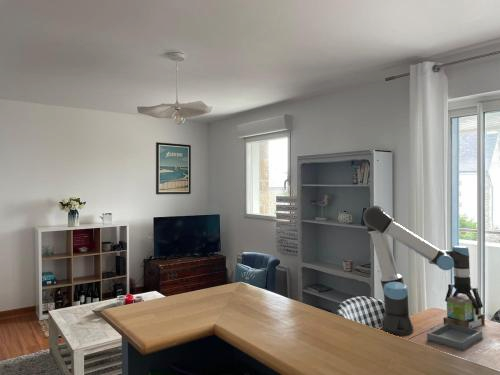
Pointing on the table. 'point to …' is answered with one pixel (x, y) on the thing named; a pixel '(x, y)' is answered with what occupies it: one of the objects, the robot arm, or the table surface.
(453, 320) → the walnut holder
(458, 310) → the tea box
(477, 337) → the charcoal tray
